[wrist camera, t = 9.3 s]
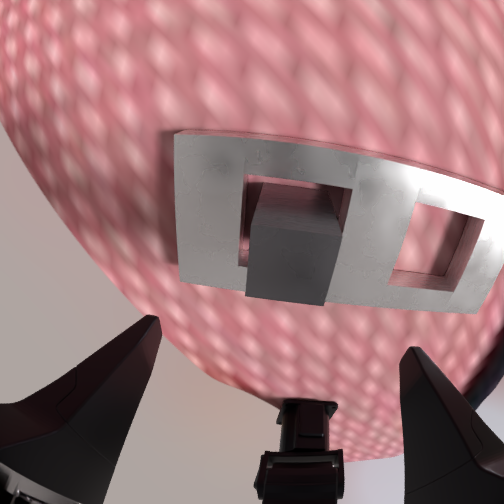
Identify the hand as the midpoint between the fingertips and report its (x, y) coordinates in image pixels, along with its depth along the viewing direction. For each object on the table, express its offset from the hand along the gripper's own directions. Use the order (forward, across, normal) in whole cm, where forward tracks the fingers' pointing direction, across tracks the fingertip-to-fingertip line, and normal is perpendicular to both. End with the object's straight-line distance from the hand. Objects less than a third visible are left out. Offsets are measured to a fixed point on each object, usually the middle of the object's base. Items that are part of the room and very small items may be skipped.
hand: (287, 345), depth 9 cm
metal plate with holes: (+11, -5, 0) cm, 12 cm away
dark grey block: (+11, 0, 0) cm, 11 cm away
